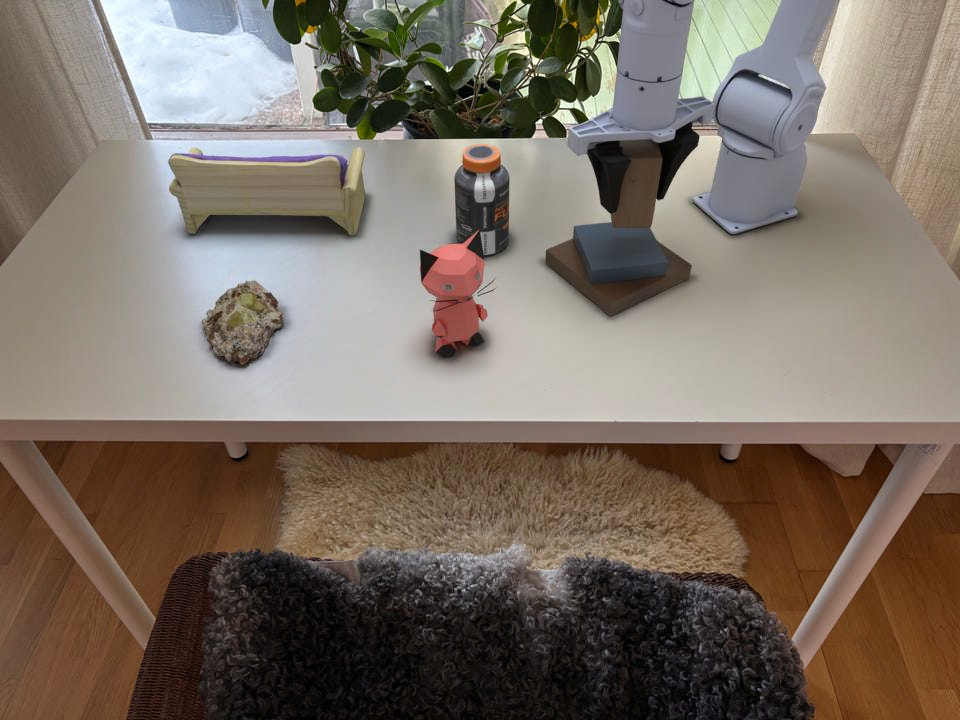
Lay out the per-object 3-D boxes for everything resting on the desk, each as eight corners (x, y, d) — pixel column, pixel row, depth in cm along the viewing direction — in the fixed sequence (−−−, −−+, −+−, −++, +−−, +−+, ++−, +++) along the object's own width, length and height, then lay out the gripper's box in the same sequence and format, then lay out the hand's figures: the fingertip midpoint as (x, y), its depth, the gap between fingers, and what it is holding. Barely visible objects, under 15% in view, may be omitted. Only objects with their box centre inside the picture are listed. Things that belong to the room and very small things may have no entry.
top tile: (643, 232, 86) (645, 218, 85) (665, 276, 80) (668, 262, 79) (572, 239, 85) (573, 225, 84) (590, 284, 80) (592, 270, 78)
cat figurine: (439, 373, 73) (431, 272, 65) (408, 331, 78) (397, 231, 69) (504, 347, 76) (504, 247, 67) (470, 308, 80) (467, 209, 72)
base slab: (621, 229, 89) (623, 216, 88) (689, 278, 83) (692, 265, 82) (545, 262, 85) (545, 249, 84) (610, 316, 79) (611, 303, 77)
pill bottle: (503, 259, 86) (504, 169, 78) (451, 254, 87) (446, 164, 79) (513, 229, 90) (514, 140, 82) (463, 224, 91) (459, 135, 83)
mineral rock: (198, 284, 80) (269, 260, 79) (220, 313, 83) (289, 290, 82) (185, 358, 72) (264, 333, 72) (210, 387, 76) (286, 363, 75)
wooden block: (611, 229, 78) (620, 157, 72) (608, 207, 80) (616, 136, 75) (652, 230, 77) (663, 158, 72) (647, 207, 80) (658, 136, 75)
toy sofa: (371, 196, 96) (361, 118, 88) (362, 237, 89) (349, 157, 82) (204, 196, 96) (180, 119, 89) (183, 237, 90) (155, 158, 83)
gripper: (600, 103, 63) (587, 240, 73) (746, 70, 67) (716, 204, 77) (560, 70, 68) (553, 203, 78) (698, 41, 72) (675, 170, 81)
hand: (631, 201), depth 78 cm, fingers closed on wooden block, 5 cm apart
